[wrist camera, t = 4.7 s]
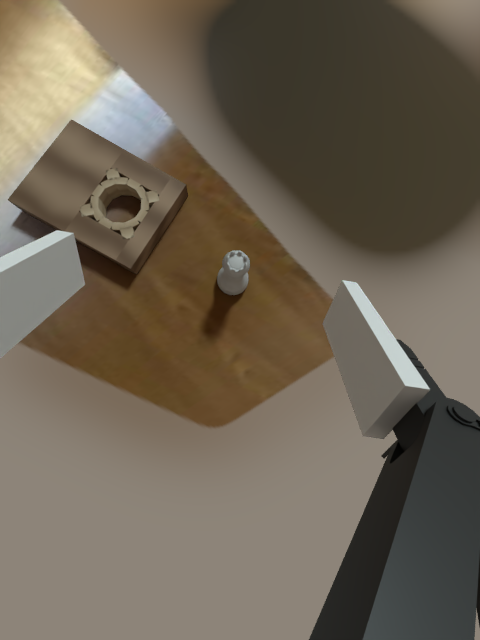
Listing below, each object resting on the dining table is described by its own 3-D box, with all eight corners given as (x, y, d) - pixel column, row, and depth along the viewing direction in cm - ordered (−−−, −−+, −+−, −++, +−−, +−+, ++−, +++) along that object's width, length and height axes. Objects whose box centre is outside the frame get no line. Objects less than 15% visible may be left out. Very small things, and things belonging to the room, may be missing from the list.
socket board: (136, 274, 35) (130, 268, 33) (22, 210, 35) (7, 199, 33) (188, 195, 38) (186, 184, 35) (80, 134, 37) (71, 119, 35)
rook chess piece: (253, 276, 37) (263, 255, 29) (237, 301, 36) (243, 287, 28) (227, 260, 37) (230, 234, 29) (211, 285, 36) (209, 266, 28)
